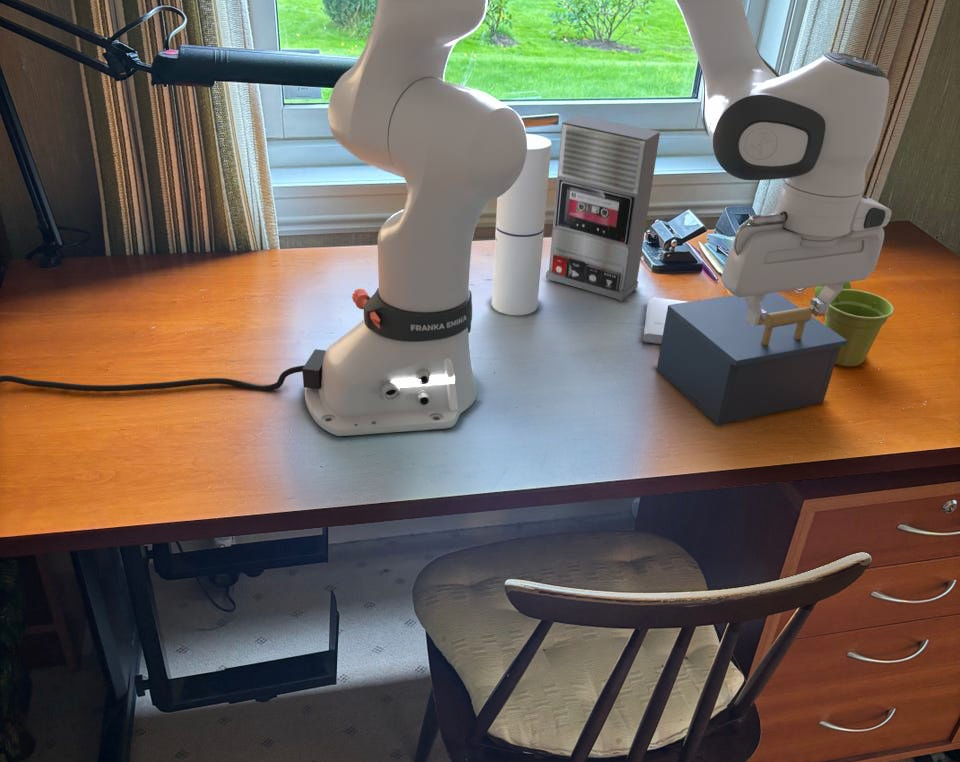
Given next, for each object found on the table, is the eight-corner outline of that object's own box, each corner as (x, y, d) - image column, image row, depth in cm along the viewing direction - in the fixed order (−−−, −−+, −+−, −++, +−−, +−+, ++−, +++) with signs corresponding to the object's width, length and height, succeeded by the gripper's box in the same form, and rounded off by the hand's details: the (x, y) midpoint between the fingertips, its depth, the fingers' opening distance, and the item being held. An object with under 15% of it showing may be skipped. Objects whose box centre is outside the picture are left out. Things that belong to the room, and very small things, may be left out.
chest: (823, 402, 122) (841, 343, 117) (716, 425, 117) (731, 363, 112) (756, 350, 133) (770, 294, 128) (656, 369, 128) (666, 310, 123)
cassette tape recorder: (544, 280, 150) (558, 123, 135) (561, 268, 154) (577, 114, 139) (621, 302, 144) (644, 141, 129) (637, 289, 149) (661, 131, 134)
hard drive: (699, 312, 143) (698, 349, 133) (646, 305, 144) (642, 342, 134) (701, 302, 142) (700, 339, 132) (648, 296, 143) (644, 332, 133)
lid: (846, 346, 116) (857, 310, 113) (735, 366, 111) (743, 329, 108) (770, 294, 128) (779, 260, 125) (666, 310, 123) (673, 275, 120)
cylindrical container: (506, 318, 138) (516, 151, 123) (483, 299, 143) (491, 136, 128) (546, 310, 141) (561, 145, 126) (522, 291, 146) (534, 131, 131)
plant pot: (800, 340, 137) (815, 287, 131) (862, 342, 137) (879, 289, 132) (819, 372, 129) (836, 316, 124) (885, 374, 129) (904, 319, 124)
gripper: (757, 227, 99) (730, 341, 107) (903, 211, 106) (867, 319, 114) (724, 207, 104) (701, 317, 112) (866, 192, 110) (834, 298, 119)
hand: (786, 318), depth 113 cm, fingers open, 8 cm apart
